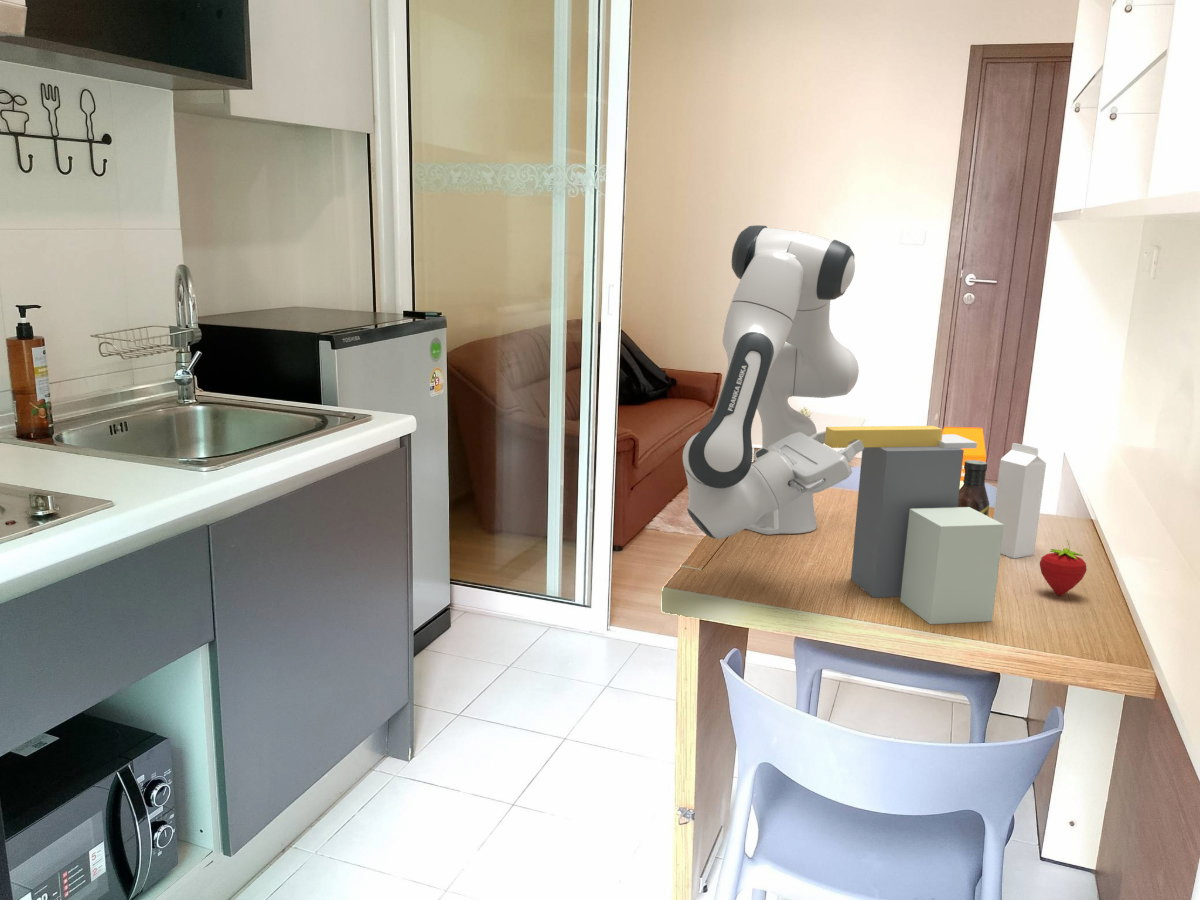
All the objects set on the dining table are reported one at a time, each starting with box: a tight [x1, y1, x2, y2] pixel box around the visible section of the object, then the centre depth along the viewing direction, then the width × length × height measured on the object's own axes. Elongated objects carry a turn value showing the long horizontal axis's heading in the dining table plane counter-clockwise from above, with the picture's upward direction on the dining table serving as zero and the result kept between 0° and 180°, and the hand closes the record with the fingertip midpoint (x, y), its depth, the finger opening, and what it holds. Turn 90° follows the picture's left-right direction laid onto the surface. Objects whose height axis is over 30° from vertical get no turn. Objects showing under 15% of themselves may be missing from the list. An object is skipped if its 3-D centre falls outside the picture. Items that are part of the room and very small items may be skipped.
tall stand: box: [850, 446, 964, 599], centre depth 167 cm, size 14×9×26 cm, turn 101°
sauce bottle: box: [958, 460, 990, 517], centre depth 183 cm, size 6×6×20 cm
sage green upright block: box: [899, 507, 1004, 625], centre depth 158 cm, size 11×10×16 cm
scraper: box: [824, 425, 977, 449], centre depth 164 cm, size 26×7×3 cm, turn 101°
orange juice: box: [942, 426, 987, 490], centre depth 216 cm, size 8×9×20 cm
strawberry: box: [1039, 539, 1087, 596], centre depth 167 cm, size 6×8×10 cm
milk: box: [992, 442, 1047, 559], centre depth 189 cm, size 6×6×22 cm
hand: (848, 437), depth 162 cm, fingers open, 8 cm apart
